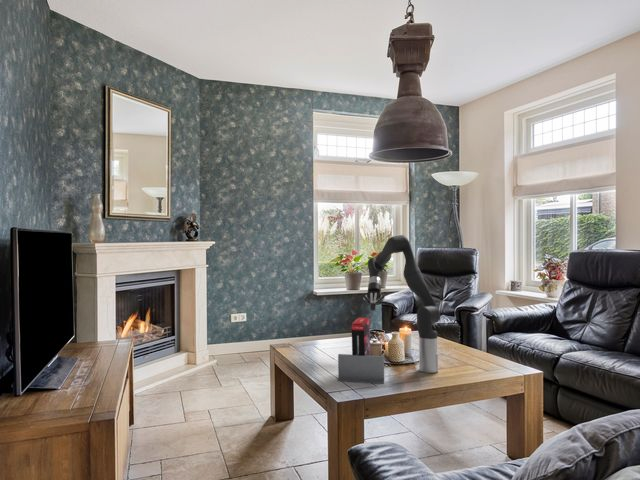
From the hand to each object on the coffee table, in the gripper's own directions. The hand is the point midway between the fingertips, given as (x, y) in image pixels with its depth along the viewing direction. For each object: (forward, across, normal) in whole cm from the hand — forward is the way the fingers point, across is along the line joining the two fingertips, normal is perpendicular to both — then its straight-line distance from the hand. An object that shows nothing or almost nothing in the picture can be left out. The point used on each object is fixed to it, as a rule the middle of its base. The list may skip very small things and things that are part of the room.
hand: (372, 310), depth 261 cm
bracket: (+44, -2, -4) cm, 44 cm away
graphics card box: (+40, -3, 0) cm, 40 cm away
